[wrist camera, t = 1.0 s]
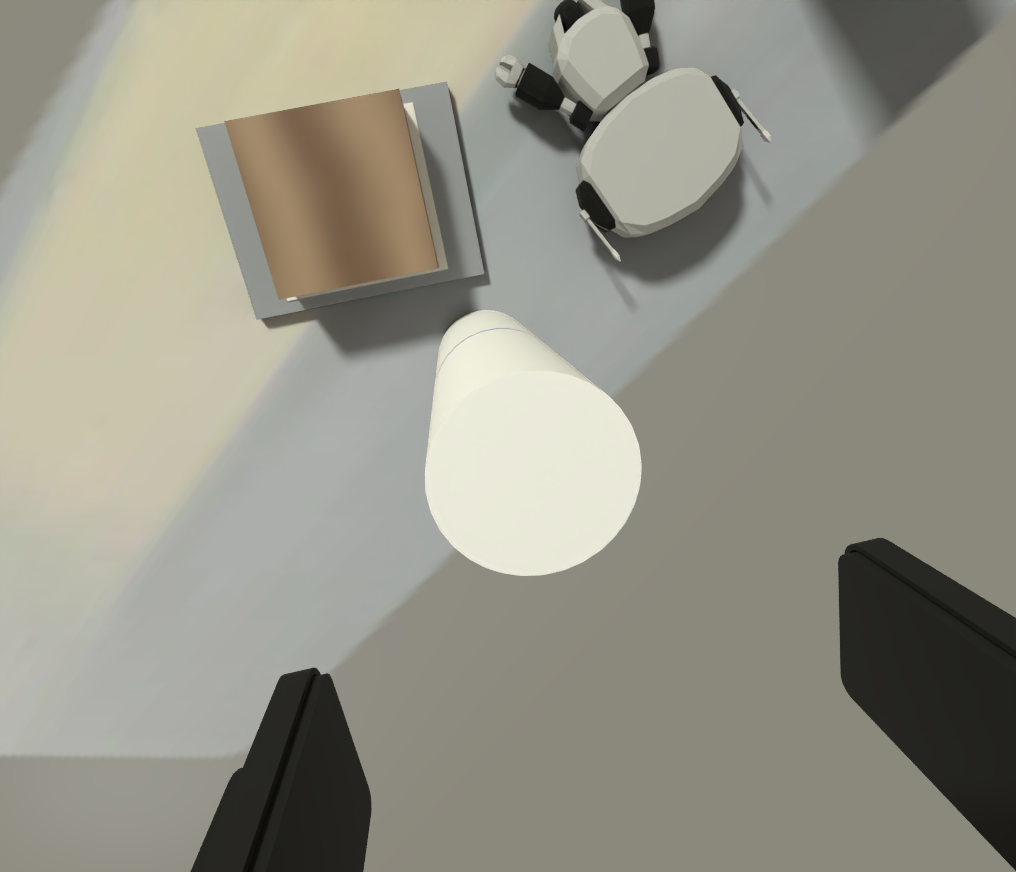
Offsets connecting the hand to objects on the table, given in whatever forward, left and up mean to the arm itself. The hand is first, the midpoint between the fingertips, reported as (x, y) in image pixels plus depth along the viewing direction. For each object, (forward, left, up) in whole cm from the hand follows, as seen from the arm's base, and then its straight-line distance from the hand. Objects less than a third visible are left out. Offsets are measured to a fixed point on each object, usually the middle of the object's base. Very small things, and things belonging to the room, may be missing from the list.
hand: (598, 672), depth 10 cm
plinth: (+7, -12, -33) cm, 36 cm away
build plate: (+7, -12, -34) cm, 37 cm away
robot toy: (-12, -14, -34) cm, 39 cm away
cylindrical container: (0, 0, -34) cm, 34 cm away
